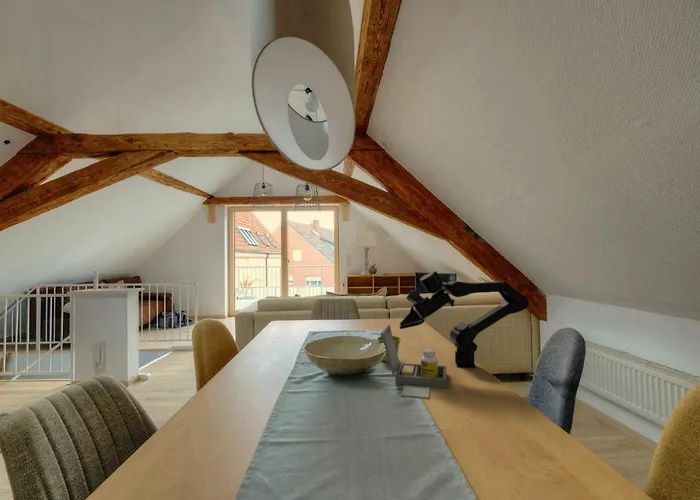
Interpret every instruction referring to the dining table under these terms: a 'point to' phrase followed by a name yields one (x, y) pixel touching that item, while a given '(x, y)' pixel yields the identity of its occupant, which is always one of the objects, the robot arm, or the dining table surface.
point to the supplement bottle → (429, 364)
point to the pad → (416, 391)
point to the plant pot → (396, 341)
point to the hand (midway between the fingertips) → (400, 326)
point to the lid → (390, 348)
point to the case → (409, 377)
